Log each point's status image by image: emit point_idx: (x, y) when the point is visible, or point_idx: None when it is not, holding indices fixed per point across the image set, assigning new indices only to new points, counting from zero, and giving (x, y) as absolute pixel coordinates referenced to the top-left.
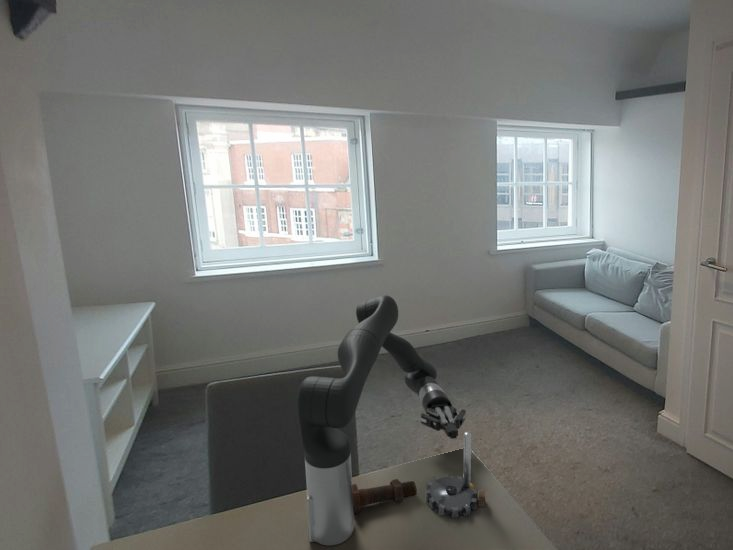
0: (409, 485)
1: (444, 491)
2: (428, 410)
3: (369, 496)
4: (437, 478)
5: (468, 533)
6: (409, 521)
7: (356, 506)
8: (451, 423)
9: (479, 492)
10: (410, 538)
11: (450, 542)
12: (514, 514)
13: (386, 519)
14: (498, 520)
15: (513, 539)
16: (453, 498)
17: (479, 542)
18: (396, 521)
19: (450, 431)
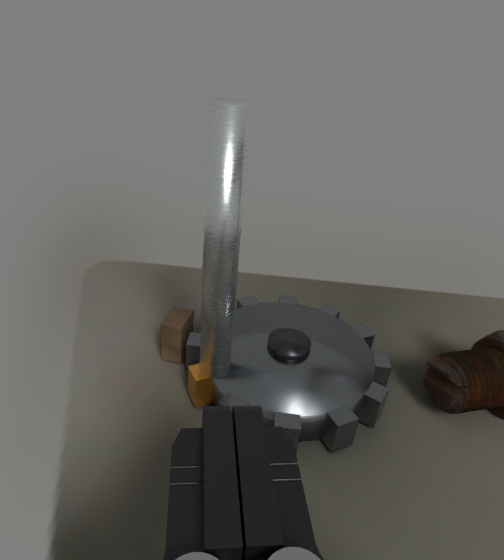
0: (464, 354)
1: (315, 353)
2: None
3: None
4: (342, 413)
5: (258, 289)
6: (422, 329)
7: None
8: (215, 538)
9: (184, 321)
10: (408, 296)
11: (308, 280)
12: (95, 312)
13: None
14: (158, 304)
15: (152, 269)
16: (286, 325)
17: (238, 273)
18: (461, 333)
19: (261, 420)
